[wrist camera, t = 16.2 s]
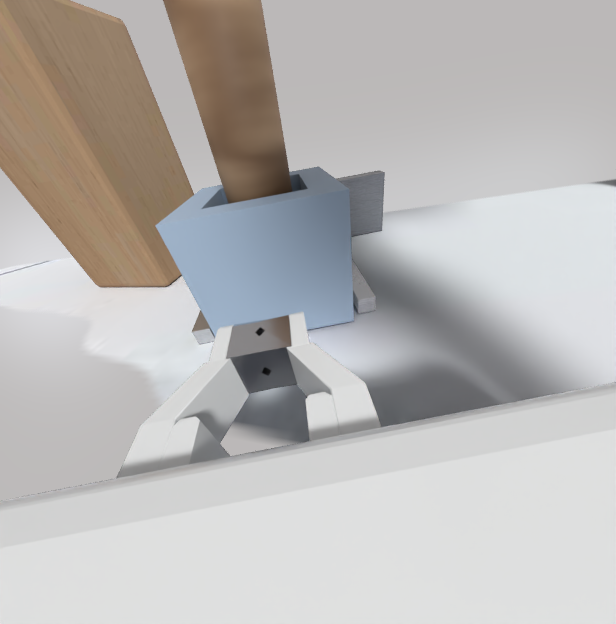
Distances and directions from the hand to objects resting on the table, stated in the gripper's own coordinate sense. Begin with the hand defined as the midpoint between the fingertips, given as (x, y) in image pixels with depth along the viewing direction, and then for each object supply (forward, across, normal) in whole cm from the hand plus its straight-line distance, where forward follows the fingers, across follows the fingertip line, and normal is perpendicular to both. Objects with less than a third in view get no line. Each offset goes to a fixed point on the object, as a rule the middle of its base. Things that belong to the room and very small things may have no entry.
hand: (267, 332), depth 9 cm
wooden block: (+22, +15, +5) cm, 27 cm away
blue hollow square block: (+10, 0, +5) cm, 11 cm away
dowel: (+10, 0, +3) cm, 10 cm away
